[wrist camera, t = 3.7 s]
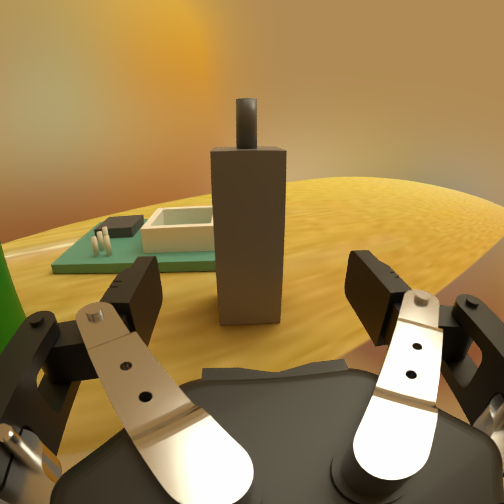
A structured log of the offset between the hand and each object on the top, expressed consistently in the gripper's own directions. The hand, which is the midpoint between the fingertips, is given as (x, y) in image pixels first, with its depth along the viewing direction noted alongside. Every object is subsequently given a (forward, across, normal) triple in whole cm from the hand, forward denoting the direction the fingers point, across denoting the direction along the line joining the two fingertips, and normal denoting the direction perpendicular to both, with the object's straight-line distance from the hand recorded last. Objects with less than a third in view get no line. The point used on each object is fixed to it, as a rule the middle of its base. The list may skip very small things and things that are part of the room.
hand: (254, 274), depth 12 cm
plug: (+7, 0, +6) cm, 10 cm away
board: (+20, +10, +6) cm, 23 cm away
